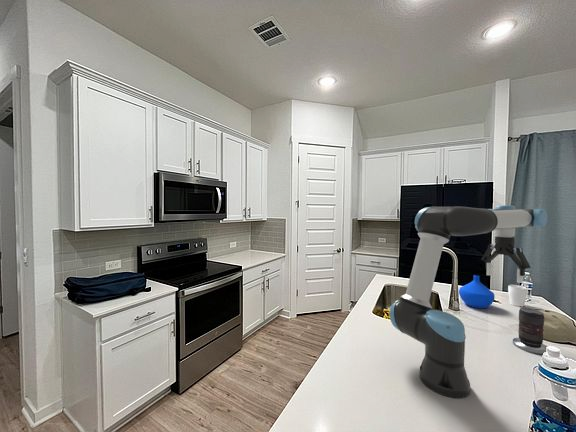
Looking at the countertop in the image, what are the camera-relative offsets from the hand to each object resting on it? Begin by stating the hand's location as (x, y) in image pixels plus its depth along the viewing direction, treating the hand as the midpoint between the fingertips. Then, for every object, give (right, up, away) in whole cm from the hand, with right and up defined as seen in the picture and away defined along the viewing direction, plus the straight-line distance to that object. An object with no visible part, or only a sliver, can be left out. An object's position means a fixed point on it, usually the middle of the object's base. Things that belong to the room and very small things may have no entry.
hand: (503, 278), depth 124 cm
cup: (+41, -27, +37) cm, 61 cm away
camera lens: (0, -26, -14) cm, 29 cm away
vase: (+13, -27, +35) cm, 46 cm away
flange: (0, -27, -14) cm, 30 cm away
